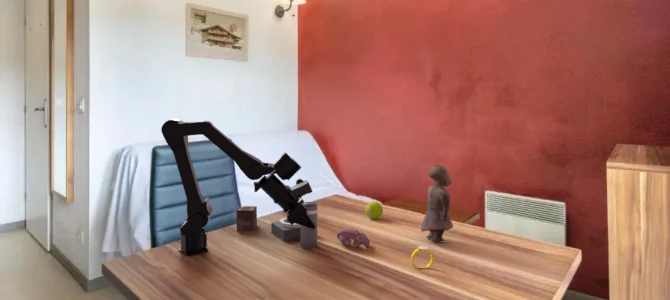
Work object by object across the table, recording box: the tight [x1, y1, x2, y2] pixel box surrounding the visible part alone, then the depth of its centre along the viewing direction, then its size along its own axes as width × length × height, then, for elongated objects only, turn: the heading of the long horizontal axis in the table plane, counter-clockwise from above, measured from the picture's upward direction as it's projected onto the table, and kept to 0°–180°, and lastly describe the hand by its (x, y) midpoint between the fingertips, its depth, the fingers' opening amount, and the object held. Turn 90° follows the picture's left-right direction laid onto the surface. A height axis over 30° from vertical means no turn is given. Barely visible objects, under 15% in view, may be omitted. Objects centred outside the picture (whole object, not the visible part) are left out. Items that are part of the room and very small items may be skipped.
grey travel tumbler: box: [299, 201, 319, 250], centre depth 125 cm, size 5×5×14 cm
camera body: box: [270, 216, 301, 242], centre depth 136 cm, size 12×10×5 cm
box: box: [236, 205, 258, 232], centre depth 142 cm, size 6×6×7 cm
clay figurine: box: [420, 165, 454, 243], centre depth 131 cm, size 13×10×25 cm
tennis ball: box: [365, 201, 384, 220], centre depth 157 cm, size 7×7×7 cm
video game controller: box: [336, 228, 371, 248], centre depth 126 cm, size 10×5×7 cm
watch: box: [410, 245, 435, 269], centre depth 110 cm, size 6×3×6 cm, turn 96°
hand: (313, 225), depth 125 cm, fingers closed on grey travel tumbler, 5 cm apart
